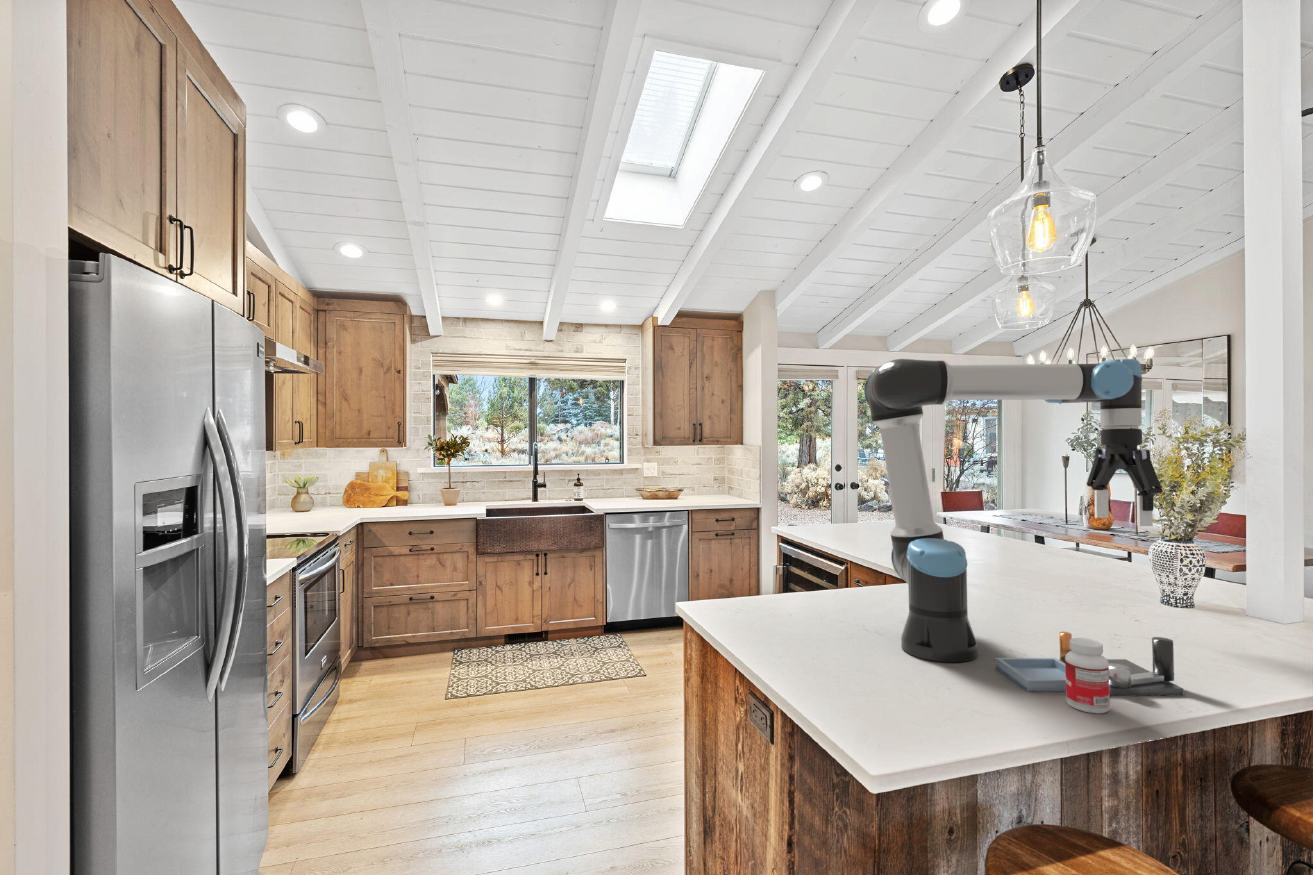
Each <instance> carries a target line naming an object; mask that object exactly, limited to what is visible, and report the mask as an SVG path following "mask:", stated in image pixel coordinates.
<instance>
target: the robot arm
mask: <svg viewBox="0 0 1313 875" xmlns="http://www.w3.org/2000/svg"><path fill="white" fill-rule="evenodd" d="M1142 375H1143V374H1142V367H1141V362H1140V361H1139V360H1138V359H1135V358H1120V359H1119V358H1118V359H1116V358H1115V359H1107V360H1104V361H1101V362H1100V363H1040V364H1039V363H1037V364H1035V363H1034V364H1033V363H1032V364H1028V363H1027V364H1025V363H1024V364H1022V363H1021V364H1019V363H1018V364H954V365H953V364H949V363H947V361H946V360H926V359H912V358H897V359H896V358H895V359H893V360H889V361H887V362H886V363H883V364H882V365H879V366H877V367H876V368H874V369H873V370H872V371H871V372H870V374H869V375H868V377H866V381H865V383H864V386H863V395H864V398H865V401H866V403H867V404H868V406H869V411H870V417H871V423H872V424H873V425H875V426H876V427H878V428H879V431H880V437H881V442H882V443H881V445H882V448H883V455H884V461H885V468H886V474H887V480H888V485H889V492H890V497H891V498H890V499H891V504H892V505H891V506H892V510H893V511H892V512H893V516H894V522H895V527H894V528H893V529H892V530H891V531H890V539H891V546H892V549H891V554H890V556H891V558H890V559H891V563H892V564H891V565H892V568H893V569H894V571H895V573H896V574H897V575H898V577H900V579H902V580H904V582H906V584H908V587H907V588H908V615H907V619H906V621H905V624H904V626H903V627H904V628H903V630H902V633H901V640H900V641H901V642H900V643H901V645H900V646H901V649H902V650H903V651H904V652H906V653H907V654H909V655H911V656H913V657H916V658H919V659H924V660H927V661H931V662H932V661H933V662H940V663H963V662H964V663H965V662H970V661H972V660H973V661H974V660H975V659H976V658H978V655H979V649H978V647H979V646H978V642H977V639H976V636H975V634H974V631H973V628H972V625H971V622H970V620H969V614H968V613H969V611H968V577H967V576H968V575H967V574H968V572H967V569H968V568H967V567H968V560H967V553H966V550H965V548H964V547H963V546H962V545H961V544H959V543H957V542H955V541H952V540H947V539H945V538H944V532H943V528H942V527H941V526H940V525H938V524H937V523H936V522H935V521H934V520H935V519H934V514H933V507H932V502H931V496H930V489H929V484H928V479H927V471H926V465H925V460H924V454H923V447H922V440H921V436H920V430H919V424H918V423H919V421H920V420H921V419H922V418H923V416H924V410H923V406H932V405H933V406H934V405H938V406H939V405H945V403H947V401H979V400H980V401H987V400H988V401H995V400H996V401H998V400H999V401H1003V400H1004V401H1008V400H1009V401H1010V400H1011V401H1012V400H1013V401H1014V400H1015V401H1016V400H1018V401H1019V400H1020V401H1021V400H1022V401H1023V400H1024V401H1025V400H1030V401H1032V400H1035V401H1036V400H1037V401H1039V400H1044V401H1045V402H1046V403H1050V404H1060V405H1061V404H1069V403H1070V404H1072V403H1075V404H1076V403H1077V404H1078V403H1081V404H1082V403H1099V404H1100V406H1099V407H1100V408H1099V410H1100V411H1099V412H1100V417H1099V418H1100V420H1099V421H1100V423H1099V424H1100V427H1102V429H1101V430H1100V444H1101V445H1102V446H1105V448H1096V449H1095V453H1094V454H1095V456H1094V460H1093V464H1092V467H1091V469H1090V472H1089V475H1088V478H1087V481H1086V486H1087V487H1091V489H1092V490H1093V503H1094V518H1095V519H1105V518H1106V519H1108V518H1109V517H1110V516H1109V515H1110V513H1109V489H1108V487H1107V486H1108V485H1109V484H1110V482H1111V480H1112V478H1113V477H1114V476H1115V473H1116V472H1117V471H1118V470H1123V471H1124V472H1126V473H1127V475H1128V477H1129V478H1130V479H1131V482H1132V483H1133V484H1134V486H1135V488H1136V489H1137V491H1138V493H1137V494H1136V522H1137V523H1136V526H1137V527H1153V525H1154V524H1153V523H1154V522H1153V521H1154V520H1153V519H1154V518H1153V513H1154V502H1155V501H1154V498H1155V496H1156V495H1158V494H1162V493H1163V488H1162V486H1161V483H1160V481H1159V478H1158V476H1157V473H1156V470H1155V467H1154V465H1153V462H1152V460H1151V452H1150V450H1149V449H1138V446H1140V445H1143V430H1142V428H1139V427H1142V425H1143V422H1142V419H1143V418H1142V416H1143V415H1142V407H1143V406H1142V404H1143V403H1142V396H1143V395H1142V393H1143V392H1142V389H1143V388H1142V387H1143V386H1142V383H1143V382H1142V381H1143V376H1142Z"/></svg>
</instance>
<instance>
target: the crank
mask: <svg viewBox="0 0 1313 875" xmlns="http://www.w3.org/2000/svg"><path fill="white" fill-rule="evenodd" d="M1151 642H1152V643H1151V646H1152V647H1151V648H1152V655H1151V656H1152V671H1150V672H1147V673H1139V674H1131V670H1130V668H1129V667H1127V666H1125V665H1121V664H1114V663H1109V685H1112V686H1116V687H1121V688H1128V687H1131V685H1134V684H1142V683H1150V682H1158V681H1169V682H1173V681H1175V661H1174V660H1175V659H1174V654H1175V653H1174V641H1173V639H1170V638H1167V637H1159V636H1153V637H1151Z"/></svg>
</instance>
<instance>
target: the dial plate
mask: <svg viewBox="0 0 1313 875" xmlns="http://www.w3.org/2000/svg"><path fill="white" fill-rule="evenodd" d="M1058 635H1059V660H1060V661H1062V662H1063V663H1065V656H1066V654H1067V653H1068V652H1070V651H1072V650H1071V649H1070V639H1072V638H1073V637H1072V633H1071V632H1069V631H1059V633H1058ZM1106 659H1107V658H1106ZM1107 661H1108V663H1114V664H1121V665H1125V666H1127V667H1129V668H1130V670H1131V674H1139V673H1147V672H1151V671H1150V670H1147V669H1146V668H1143V667H1142V666H1139V665H1137V664H1136V663H1134V662H1132V661H1130V660H1128V659H1124V658H1123V659H1121V658H1118V659H1116V658H1115V659H1113V658H1111V659H1107ZM1109 693H1110V696H1112V697H1113V696H1125V697H1126V696H1127V695H1131V696H1132V695H1133V696H1134V695H1135V696H1137V695H1138V697H1139V695H1140V696H1141V695H1180V696H1184V688H1183V687H1181V686H1178V685H1177V684H1175V683H1173V682H1172V681H1158V682H1150V683H1142V684H1134V685H1131V687H1128V688H1121V687H1116V686H1112V685H1109ZM1127 697H1128V696H1127Z"/></svg>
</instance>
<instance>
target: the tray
mask: <svg viewBox="0 0 1313 875" xmlns="http://www.w3.org/2000/svg"><path fill="white" fill-rule="evenodd" d="M995 667H996V669H997V670H999V671H1000V672H1001V673H1002V674H1004V676H1006V677H1007V678H1009V679H1010V680H1011V681H1013V682H1014V683H1016V684H1017V686H1020V688H1022V689H1023V690H1024V691H1026V692H1028V693H1029V692H1031V693H1032V692H1033V693H1035V692H1039V693H1040V692H1044V693H1045V692H1046V693H1047V692H1048V693H1049V692H1052V693H1053V692H1065V693H1066V671H1065V663H1063V662H1062V661H1060V659H1058V658H1057V657H996V658H995Z"/></svg>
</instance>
